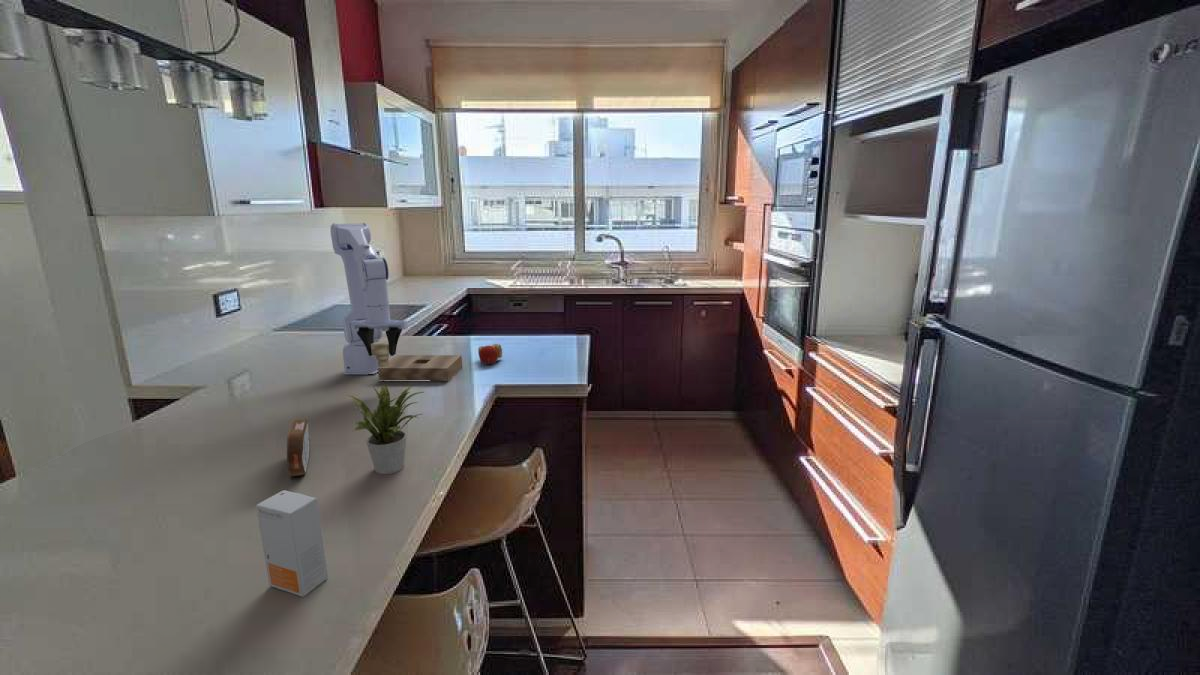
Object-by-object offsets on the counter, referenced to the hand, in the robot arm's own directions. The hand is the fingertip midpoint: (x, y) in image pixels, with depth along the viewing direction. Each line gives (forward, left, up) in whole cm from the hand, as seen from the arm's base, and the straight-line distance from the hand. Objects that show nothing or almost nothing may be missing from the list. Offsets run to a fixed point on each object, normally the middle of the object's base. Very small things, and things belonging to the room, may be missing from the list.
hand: (382, 354), depth 146 cm
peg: (0, 0, -3) cm, 3 cm away
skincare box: (+22, -78, -10) cm, 82 cm away
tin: (+3, -45, -10) cm, 46 cm away
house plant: (+22, -46, -10) cm, 52 cm away
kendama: (+22, +32, -10) cm, 40 cm away
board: (+5, +14, -10) cm, 18 cm away
